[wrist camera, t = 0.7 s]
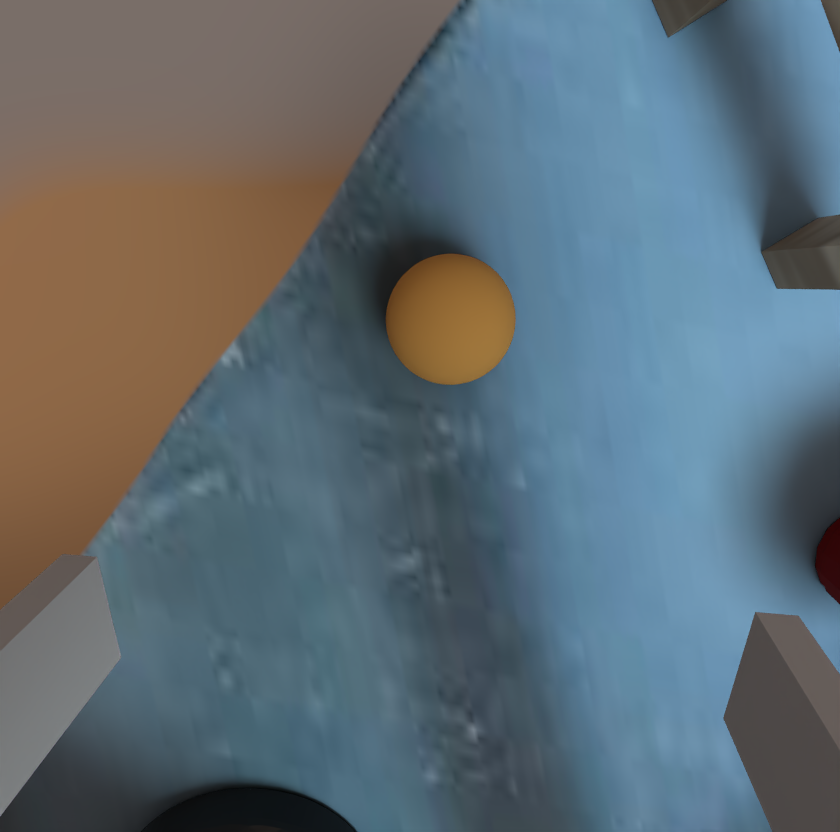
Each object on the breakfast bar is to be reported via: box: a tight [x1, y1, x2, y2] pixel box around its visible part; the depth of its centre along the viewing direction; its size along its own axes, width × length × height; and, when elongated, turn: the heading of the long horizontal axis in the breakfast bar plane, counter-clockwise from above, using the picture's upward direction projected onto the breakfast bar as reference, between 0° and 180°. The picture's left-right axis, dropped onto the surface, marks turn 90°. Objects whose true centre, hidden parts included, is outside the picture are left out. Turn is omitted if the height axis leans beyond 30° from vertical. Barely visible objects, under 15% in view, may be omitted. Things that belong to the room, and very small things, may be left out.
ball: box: [386, 254, 515, 385], centre depth 25 cm, size 6×6×6 cm
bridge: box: [652, 0, 840, 290], centre depth 22 cm, size 3×14×9 cm, turn 31°
